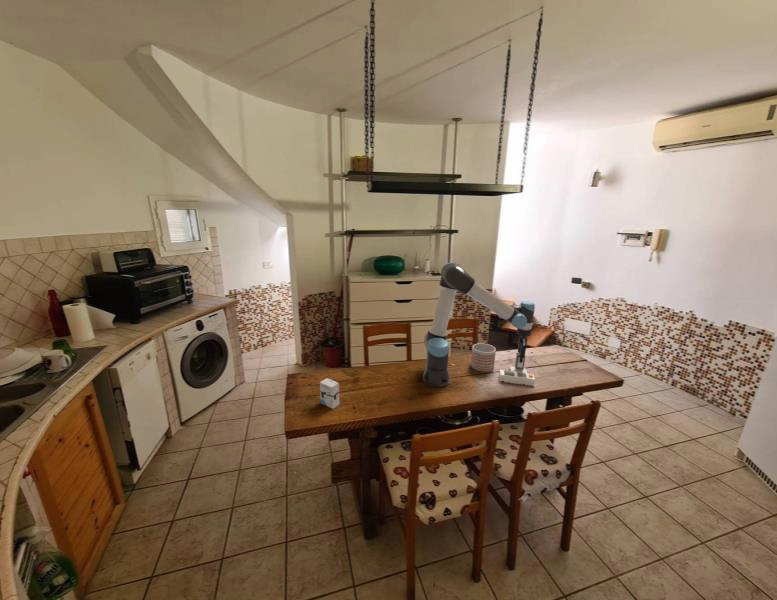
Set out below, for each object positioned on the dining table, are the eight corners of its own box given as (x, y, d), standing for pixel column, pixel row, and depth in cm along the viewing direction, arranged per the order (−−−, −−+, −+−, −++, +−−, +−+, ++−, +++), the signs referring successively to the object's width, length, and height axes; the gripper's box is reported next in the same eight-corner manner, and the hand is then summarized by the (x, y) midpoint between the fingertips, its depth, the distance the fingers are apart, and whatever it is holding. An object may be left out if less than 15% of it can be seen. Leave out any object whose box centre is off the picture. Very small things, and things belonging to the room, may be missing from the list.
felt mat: (511, 374, 191) (511, 373, 191) (509, 367, 200) (510, 366, 200) (527, 376, 189) (527, 375, 189) (525, 369, 197) (525, 368, 197)
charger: (515, 369, 192) (517, 355, 190) (514, 366, 196) (516, 352, 194) (523, 370, 191) (525, 356, 189) (522, 367, 195) (524, 353, 193)
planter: (473, 360, 208) (474, 341, 205) (495, 364, 203) (497, 345, 199) (468, 369, 197) (470, 349, 193) (491, 374, 191) (494, 354, 187)
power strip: (499, 381, 183) (500, 373, 182) (499, 375, 189) (499, 368, 188) (534, 386, 179) (535, 378, 177) (532, 380, 185) (533, 372, 183)
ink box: (320, 403, 159) (319, 382, 156) (327, 398, 163) (326, 377, 160) (332, 409, 155) (332, 387, 152) (339, 404, 159) (339, 383, 156)
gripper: (533, 334, 178) (528, 372, 184) (529, 323, 194) (524, 359, 200) (519, 332, 180) (514, 370, 186) (516, 322, 196) (511, 357, 202)
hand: (519, 364), depth 193 cm, fingers closed on charger, 4 cm apart
